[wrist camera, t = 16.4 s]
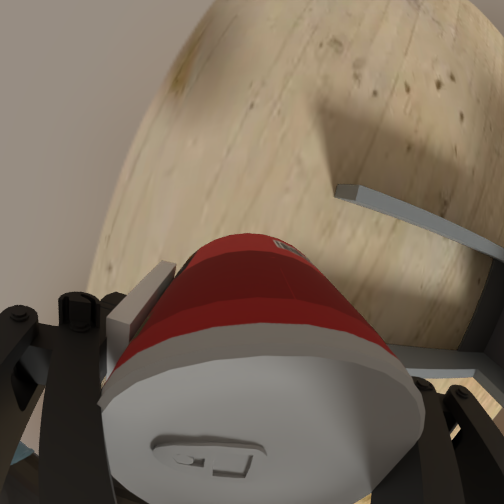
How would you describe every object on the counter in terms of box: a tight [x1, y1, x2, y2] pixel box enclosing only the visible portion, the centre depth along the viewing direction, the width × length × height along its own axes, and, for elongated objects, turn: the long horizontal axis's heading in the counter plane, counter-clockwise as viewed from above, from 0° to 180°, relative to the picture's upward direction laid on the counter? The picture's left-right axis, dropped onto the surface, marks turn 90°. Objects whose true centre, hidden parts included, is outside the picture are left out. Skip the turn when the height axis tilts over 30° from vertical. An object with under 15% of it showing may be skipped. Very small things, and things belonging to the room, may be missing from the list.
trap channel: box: [335, 184, 504, 408], centre depth 20 cm, size 32×15×14 cm, turn 76°
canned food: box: [97, 233, 425, 504], centre depth 10 cm, size 8×8×11 cm
